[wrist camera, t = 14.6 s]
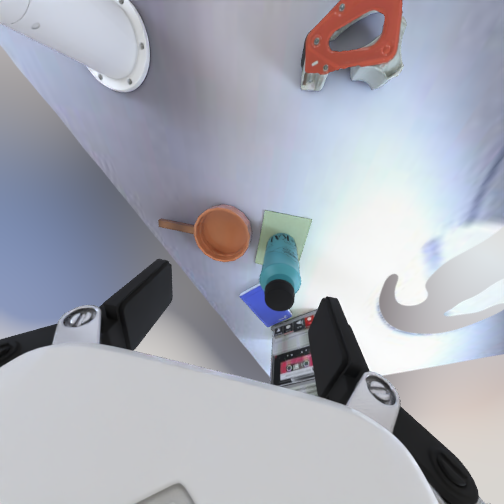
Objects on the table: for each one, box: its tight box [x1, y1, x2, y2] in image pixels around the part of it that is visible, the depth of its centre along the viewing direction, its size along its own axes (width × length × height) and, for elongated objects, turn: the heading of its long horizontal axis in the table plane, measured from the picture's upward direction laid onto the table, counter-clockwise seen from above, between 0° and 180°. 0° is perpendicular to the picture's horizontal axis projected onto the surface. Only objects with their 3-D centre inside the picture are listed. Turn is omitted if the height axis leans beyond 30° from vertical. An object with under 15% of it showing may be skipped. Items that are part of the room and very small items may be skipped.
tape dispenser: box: [301, 0, 407, 91], centre depth 24 cm, size 18×5×20 cm
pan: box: [194, 204, 252, 262], centre depth 41 cm, size 12×12×4 cm
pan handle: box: [158, 219, 194, 234], centre depth 41 cm, size 8×2×1 cm, turn 81°
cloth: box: [255, 210, 312, 265], centre depth 42 cm, size 10×13×1 cm
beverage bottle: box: [260, 233, 301, 311], centre depth 33 cm, size 6×7×20 cm
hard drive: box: [240, 283, 292, 327], centre depth 50 cm, size 2×8×12 cm
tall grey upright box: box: [270, 310, 319, 397], centre depth 41 cm, size 14×6×25 cm, turn 124°
